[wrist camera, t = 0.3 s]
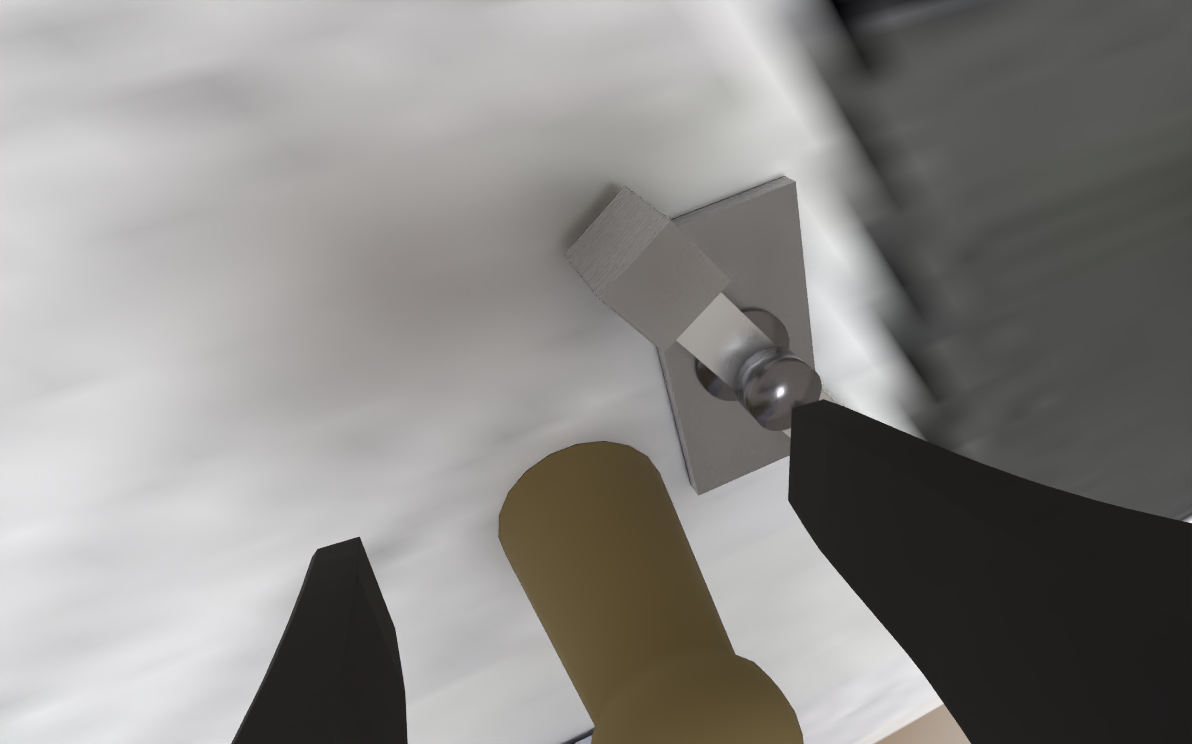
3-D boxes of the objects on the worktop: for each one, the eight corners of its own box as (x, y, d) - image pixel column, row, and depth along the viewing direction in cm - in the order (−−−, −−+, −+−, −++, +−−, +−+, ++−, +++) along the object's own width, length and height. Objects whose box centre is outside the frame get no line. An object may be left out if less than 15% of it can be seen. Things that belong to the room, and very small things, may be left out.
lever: (556, 263, 19) (637, 369, 14) (632, 176, 19) (743, 255, 14) (902, 550, 30) (1015, 665, 26) (956, 500, 30) (1081, 608, 25)
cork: (631, 411, 24) (822, 692, 15) (684, 526, 27) (866, 813, 18) (466, 499, 23) (558, 845, 14) (540, 605, 27) (653, 939, 18)
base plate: (812, 431, 27) (825, 443, 26) (691, 485, 26) (700, 498, 25) (784, 176, 21) (799, 183, 21) (629, 236, 21) (639, 245, 20)
